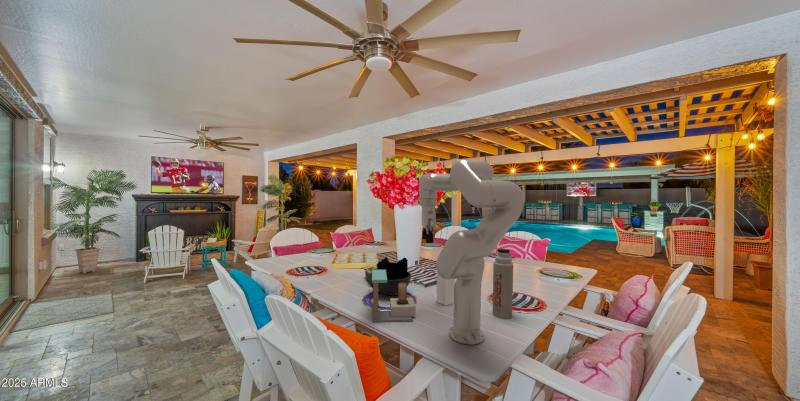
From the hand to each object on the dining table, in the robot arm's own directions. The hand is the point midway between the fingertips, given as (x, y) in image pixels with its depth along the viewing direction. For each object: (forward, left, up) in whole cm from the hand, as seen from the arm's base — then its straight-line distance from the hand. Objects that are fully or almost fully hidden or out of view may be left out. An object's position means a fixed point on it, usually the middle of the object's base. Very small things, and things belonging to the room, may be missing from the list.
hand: (427, 240), depth 131 cm
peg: (-5, +12, -30) cm, 32 cm away
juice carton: (+39, +23, -31) cm, 55 cm away
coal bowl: (+19, +15, -31) cm, 39 cm away
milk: (+6, -10, -31) cm, 33 cm away
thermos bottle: (-9, -31, -31) cm, 44 cm away
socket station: (-5, +15, -30) cm, 34 cm away
